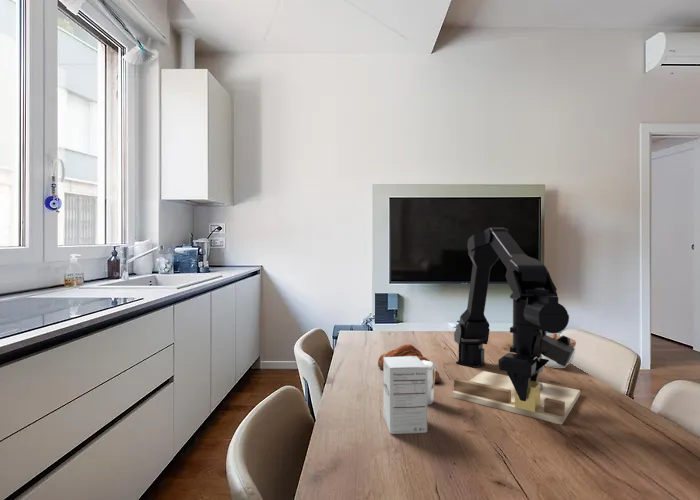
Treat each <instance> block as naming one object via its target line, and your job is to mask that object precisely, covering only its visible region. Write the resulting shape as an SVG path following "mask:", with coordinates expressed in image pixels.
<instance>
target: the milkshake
mask: <svg viewBox="0 0 700 500" xmlns="http://www.w3.org/2000/svg"><path fill="white" fill-rule="evenodd" d="M422 362H423V363H424V364H425V365H426V366H427V405H432V404H433V403H434V394H435V393H434V392H435V383H434V381H435V372H436V371H437V365H436V364H435V363H436V360H433V362H432V361H431V360H429V361H426V360H423V361H422Z"/></svg>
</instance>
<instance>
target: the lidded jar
mask: <svg viewBox="0 0 700 500" xmlns="http://www.w3.org/2000/svg"><path fill="white" fill-rule="evenodd" d="M546 335H547V336H549V337H551V338H553V337H554V338H555V339H558V338H560V337H561V336H562V335H561V336H560V335H558V334H557V333H552V335H550V334H546ZM569 338H570V342H571V346H574V347H573V348H574V351H573V353H572V356H571V358H570V360H569V362H568V363H567V364H566V366H562V365H559V364H557V362H555V361H553V360H551V359H549V358H547V357H545V356H544V355H542V354H541V355H542V359H547V360H549V362H548V363H546V364H545V365H544V366H545V367H547V368H548V367H549V368H552V369H566V368H567V366H569V365H570V364H571V363H572V362H573V360H574V358H575V355H576V354H575V353H576V345H577V341H576V340H575V339H574V338H571V337H569Z"/></svg>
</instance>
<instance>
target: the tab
mask: <svg viewBox="0 0 700 500" xmlns="http://www.w3.org/2000/svg"><path fill="white" fill-rule="evenodd" d="M515 407H516V408H520V409H524V410H528V411H532V412H536V410H537V409H538V408H539V407H540V381H538V382H535V381H530V383H529V389H528V394H527V399H526V401H521V400H520V399H519V396H518V394H517V392H516V390H515Z"/></svg>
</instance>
